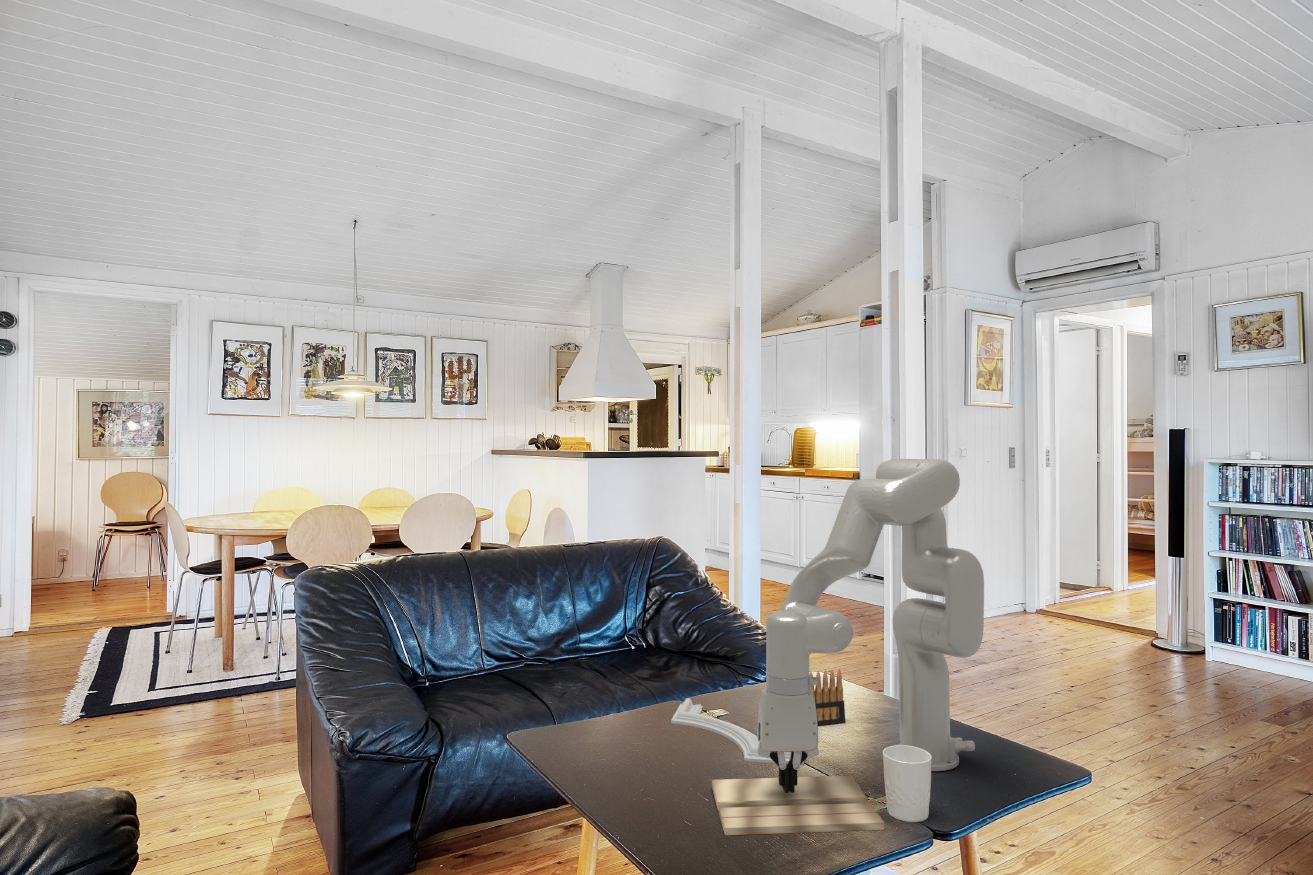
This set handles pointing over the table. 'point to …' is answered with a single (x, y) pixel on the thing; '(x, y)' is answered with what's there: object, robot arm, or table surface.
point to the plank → (774, 795)
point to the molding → (722, 730)
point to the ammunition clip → (829, 700)
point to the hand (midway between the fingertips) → (787, 789)
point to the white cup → (907, 782)
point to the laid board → (800, 819)
